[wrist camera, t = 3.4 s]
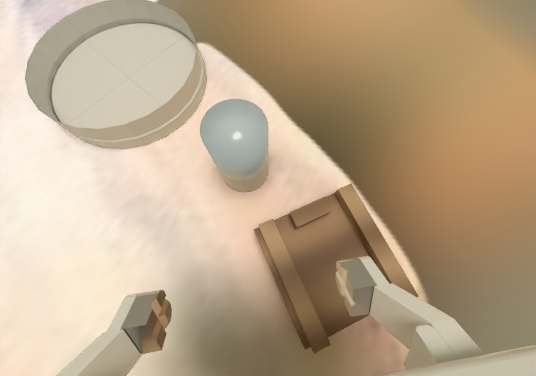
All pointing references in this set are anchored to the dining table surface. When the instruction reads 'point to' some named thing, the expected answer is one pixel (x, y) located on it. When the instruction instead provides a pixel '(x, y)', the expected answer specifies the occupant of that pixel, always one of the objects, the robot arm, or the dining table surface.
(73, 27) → the dish
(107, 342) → the robot arm
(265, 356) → the dining table surface
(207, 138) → the grey domed cylinder
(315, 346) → the chest
